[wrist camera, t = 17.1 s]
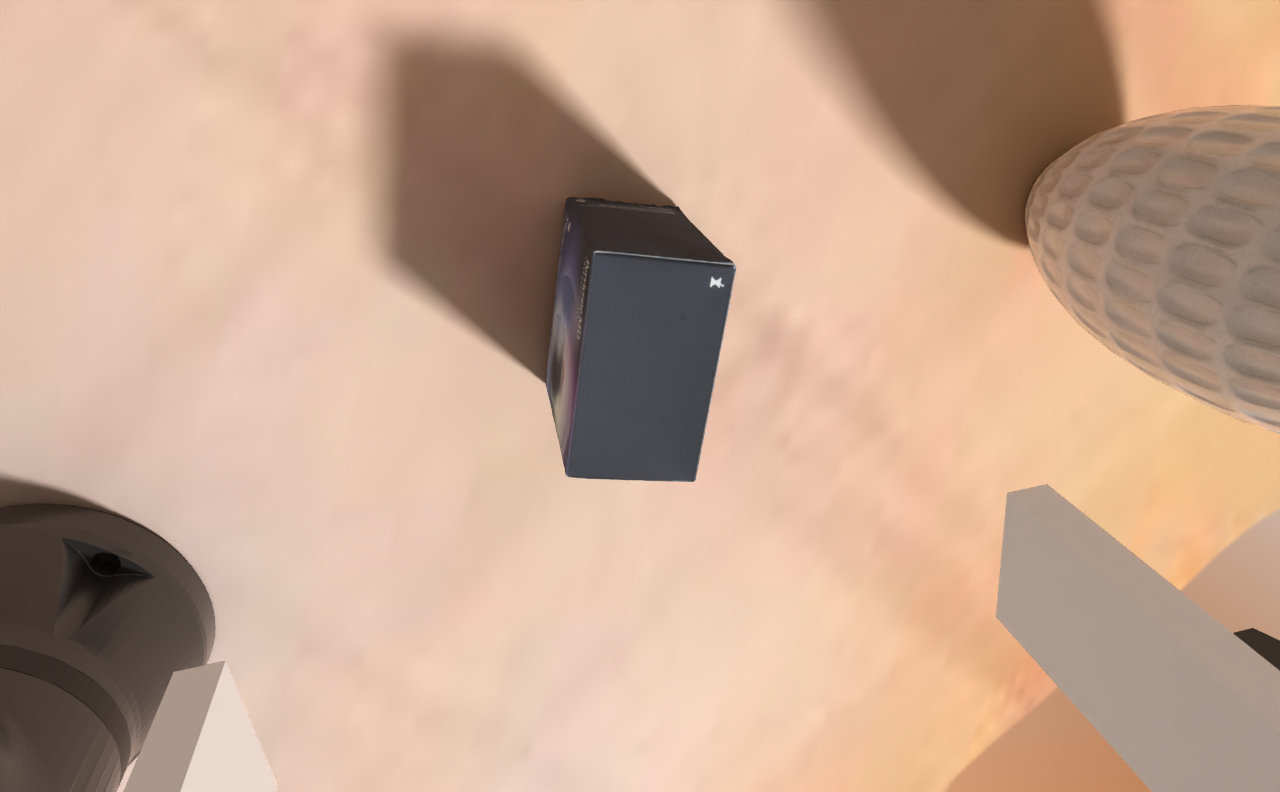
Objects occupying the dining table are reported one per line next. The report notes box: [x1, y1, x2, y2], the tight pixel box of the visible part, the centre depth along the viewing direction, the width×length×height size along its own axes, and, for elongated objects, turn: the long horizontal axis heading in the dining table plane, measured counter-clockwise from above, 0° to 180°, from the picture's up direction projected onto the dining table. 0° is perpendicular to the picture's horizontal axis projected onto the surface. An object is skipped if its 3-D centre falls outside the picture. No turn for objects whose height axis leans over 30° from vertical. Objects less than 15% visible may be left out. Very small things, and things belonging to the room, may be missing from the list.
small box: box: [546, 197, 736, 482], centre depth 41 cm, size 11×6×10 cm, turn 172°
